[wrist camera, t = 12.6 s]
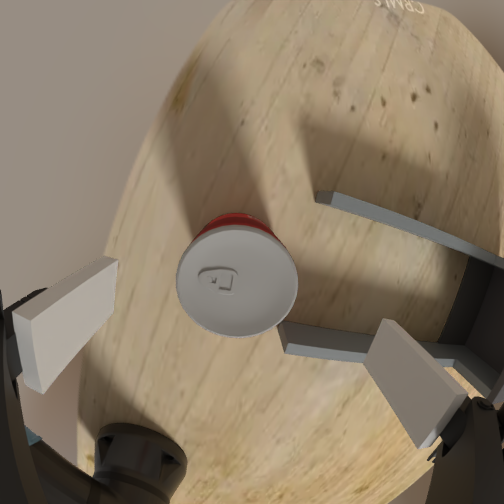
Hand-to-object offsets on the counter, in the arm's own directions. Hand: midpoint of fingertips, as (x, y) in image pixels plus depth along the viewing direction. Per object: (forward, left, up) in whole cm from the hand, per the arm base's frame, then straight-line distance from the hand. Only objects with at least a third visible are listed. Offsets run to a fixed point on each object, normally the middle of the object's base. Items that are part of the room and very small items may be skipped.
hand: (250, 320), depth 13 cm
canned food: (-1, 0, -17) cm, 17 cm away
